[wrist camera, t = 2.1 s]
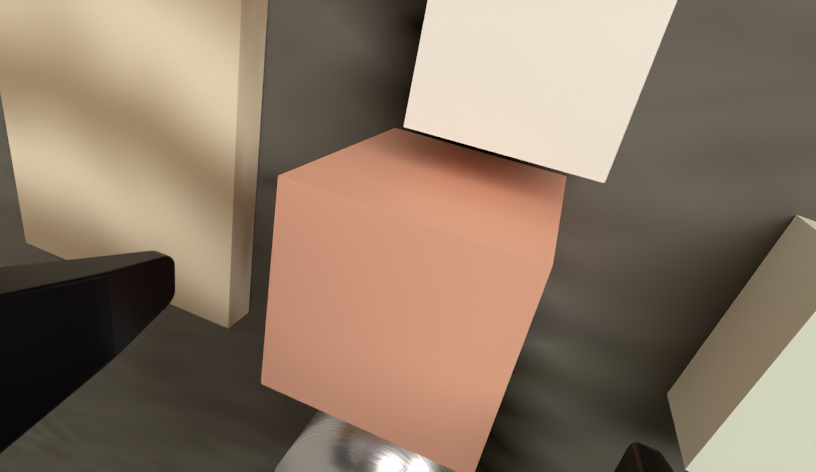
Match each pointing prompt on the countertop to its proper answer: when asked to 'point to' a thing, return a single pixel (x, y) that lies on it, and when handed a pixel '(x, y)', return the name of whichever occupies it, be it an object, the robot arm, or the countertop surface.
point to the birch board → (140, 134)
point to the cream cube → (536, 76)
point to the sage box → (757, 371)
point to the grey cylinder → (349, 451)
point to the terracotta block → (408, 287)
